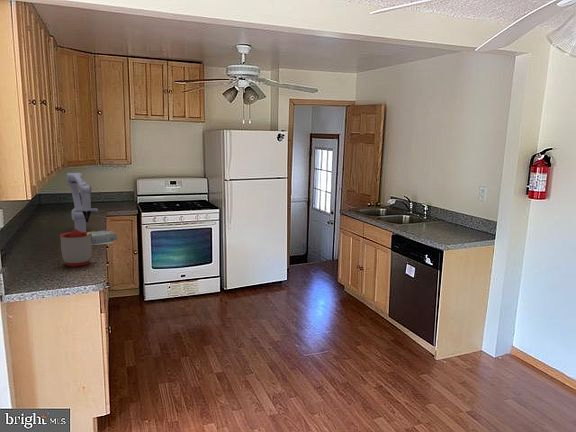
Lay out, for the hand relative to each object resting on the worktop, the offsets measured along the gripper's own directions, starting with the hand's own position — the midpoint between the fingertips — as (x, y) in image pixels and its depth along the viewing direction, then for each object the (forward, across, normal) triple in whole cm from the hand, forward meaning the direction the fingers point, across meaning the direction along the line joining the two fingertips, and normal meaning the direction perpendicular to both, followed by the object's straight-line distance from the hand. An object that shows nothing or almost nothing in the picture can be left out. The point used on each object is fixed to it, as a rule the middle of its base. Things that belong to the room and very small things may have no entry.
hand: (87, 221), depth 314 cm
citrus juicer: (+11, -10, -73) cm, 74 cm away
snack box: (+7, +1, -12) cm, 14 cm away
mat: (+10, 0, -21) cm, 23 cm away
